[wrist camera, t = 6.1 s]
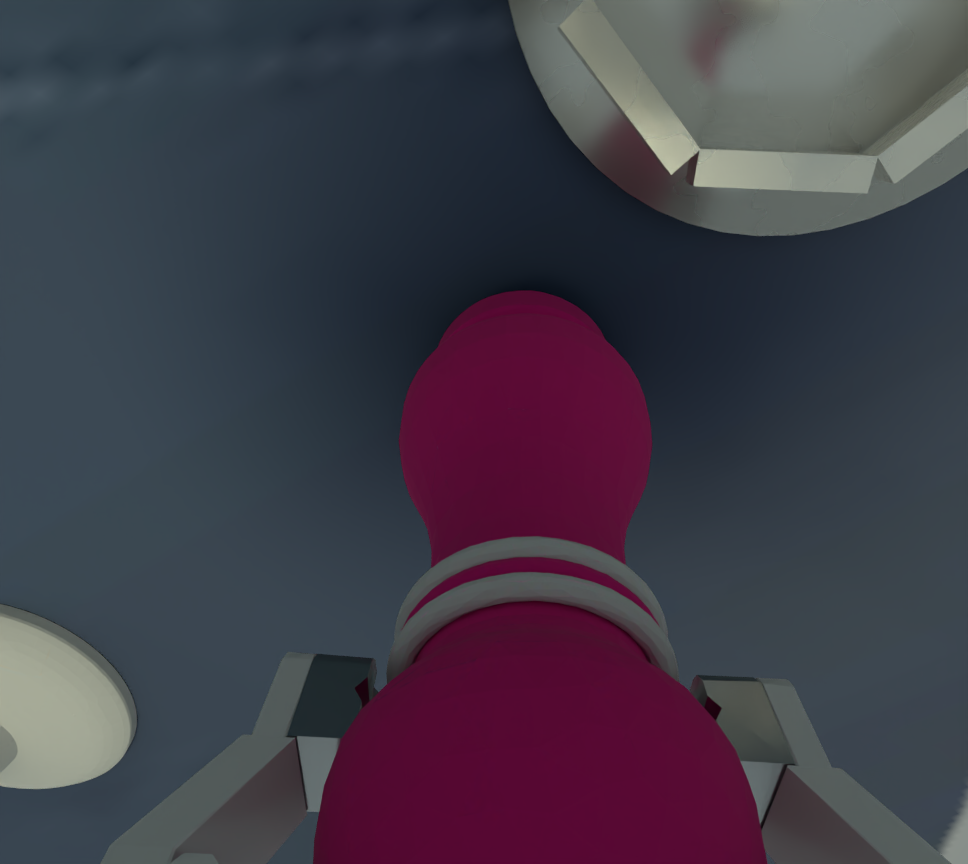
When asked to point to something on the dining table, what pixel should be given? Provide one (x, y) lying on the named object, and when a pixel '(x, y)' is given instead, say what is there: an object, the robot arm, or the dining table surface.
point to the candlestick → (57, 705)
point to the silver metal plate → (758, 103)
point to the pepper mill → (531, 629)
